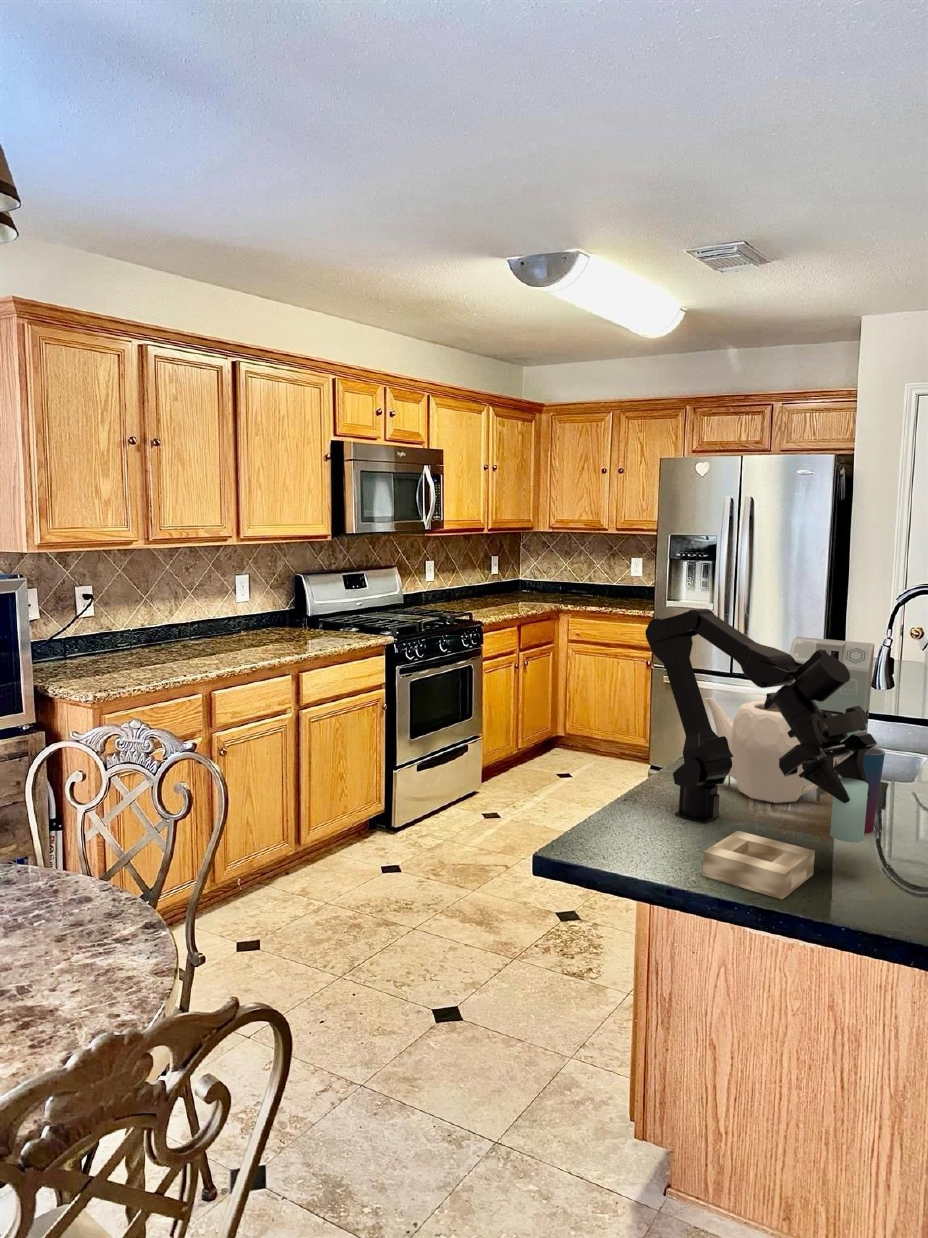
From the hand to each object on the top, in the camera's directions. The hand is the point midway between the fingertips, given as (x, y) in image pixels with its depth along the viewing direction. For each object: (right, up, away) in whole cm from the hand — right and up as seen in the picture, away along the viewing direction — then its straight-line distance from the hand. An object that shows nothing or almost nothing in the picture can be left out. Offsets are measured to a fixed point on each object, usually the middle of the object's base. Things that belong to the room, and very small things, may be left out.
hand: (857, 799), depth 145 cm
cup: (+11, -10, +24) cm, 28 cm away
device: (+17, -6, +58) cm, 61 cm away
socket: (-16, -12, +1) cm, 20 cm away
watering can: (-1, -8, +43) cm, 44 cm away
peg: (-1, -6, +2) cm, 7 cm away
